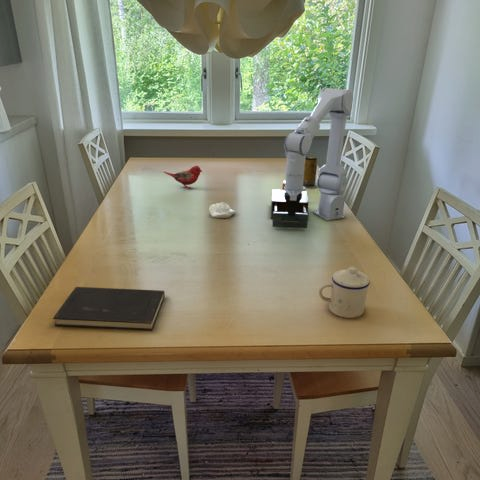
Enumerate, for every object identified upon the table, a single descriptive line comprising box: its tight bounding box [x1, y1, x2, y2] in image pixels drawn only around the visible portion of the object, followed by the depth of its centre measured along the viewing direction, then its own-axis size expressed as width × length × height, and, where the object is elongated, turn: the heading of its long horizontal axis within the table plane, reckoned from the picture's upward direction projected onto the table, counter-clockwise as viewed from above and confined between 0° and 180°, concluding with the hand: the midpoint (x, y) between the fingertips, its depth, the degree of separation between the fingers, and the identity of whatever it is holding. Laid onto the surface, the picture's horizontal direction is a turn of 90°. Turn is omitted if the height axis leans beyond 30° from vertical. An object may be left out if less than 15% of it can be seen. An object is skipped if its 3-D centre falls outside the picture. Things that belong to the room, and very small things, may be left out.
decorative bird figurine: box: [163, 165, 203, 190], centre depth 204 cm, size 3×18×10 cm, turn 75°
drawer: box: [272, 203, 309, 229], centre depth 170 cm, size 17×12×5 cm
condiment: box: [303, 155, 318, 189], centre depth 211 cm, size 7×8×12 cm
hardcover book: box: [52, 286, 166, 332], centre depth 118 cm, size 16×23×2 cm
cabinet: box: [270, 189, 309, 220], centre depth 180 cm, size 14×13×7 cm
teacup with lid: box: [318, 266, 371, 319], centre depth 119 cm, size 12×9×12 cm
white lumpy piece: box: [208, 201, 236, 219], centre depth 178 cm, size 10×4×10 cm
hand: (291, 215), depth 158 cm, fingers closed
